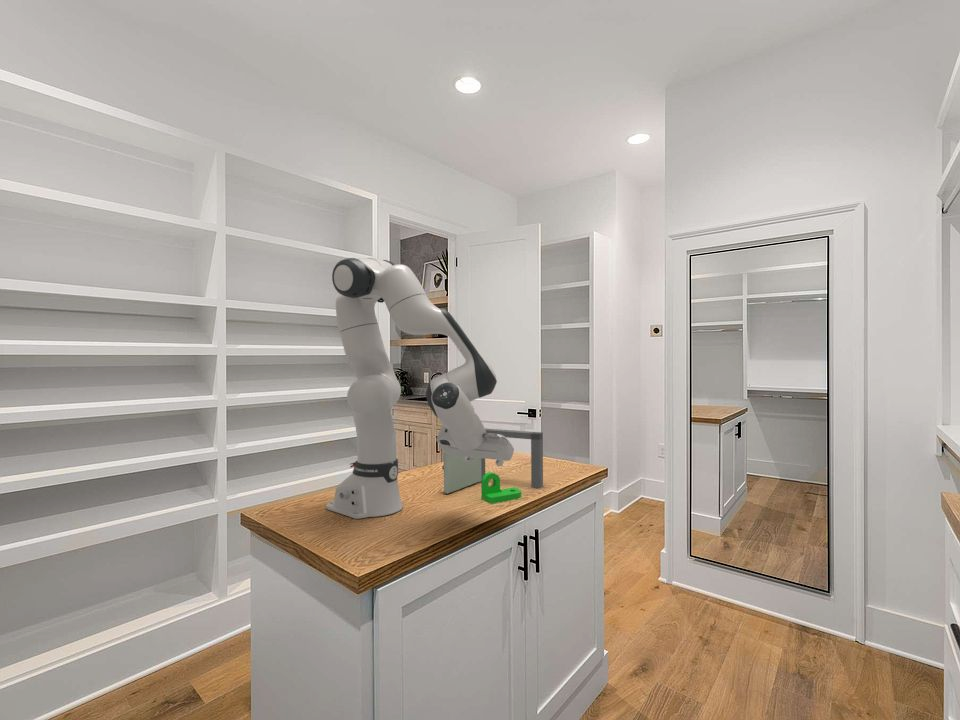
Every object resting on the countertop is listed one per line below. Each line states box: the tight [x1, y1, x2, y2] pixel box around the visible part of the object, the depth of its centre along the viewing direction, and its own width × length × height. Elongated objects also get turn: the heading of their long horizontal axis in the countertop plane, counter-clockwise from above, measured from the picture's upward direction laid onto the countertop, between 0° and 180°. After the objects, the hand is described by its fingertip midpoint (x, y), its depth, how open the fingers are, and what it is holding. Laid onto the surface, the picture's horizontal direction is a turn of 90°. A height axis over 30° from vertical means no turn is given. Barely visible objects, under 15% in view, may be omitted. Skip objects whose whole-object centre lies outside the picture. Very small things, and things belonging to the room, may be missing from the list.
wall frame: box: [481, 427, 544, 489], centre depth 166 cm, size 32×3×18 cm, turn 63°
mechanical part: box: [480, 471, 522, 505], centre depth 148 cm, size 12×6×8 cm, turn 118°
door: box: [442, 452, 482, 495], centre depth 159 cm, size 18×3×14 cm, turn 143°
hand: (485, 462), depth 133 cm, fingers open, 8 cm apart
